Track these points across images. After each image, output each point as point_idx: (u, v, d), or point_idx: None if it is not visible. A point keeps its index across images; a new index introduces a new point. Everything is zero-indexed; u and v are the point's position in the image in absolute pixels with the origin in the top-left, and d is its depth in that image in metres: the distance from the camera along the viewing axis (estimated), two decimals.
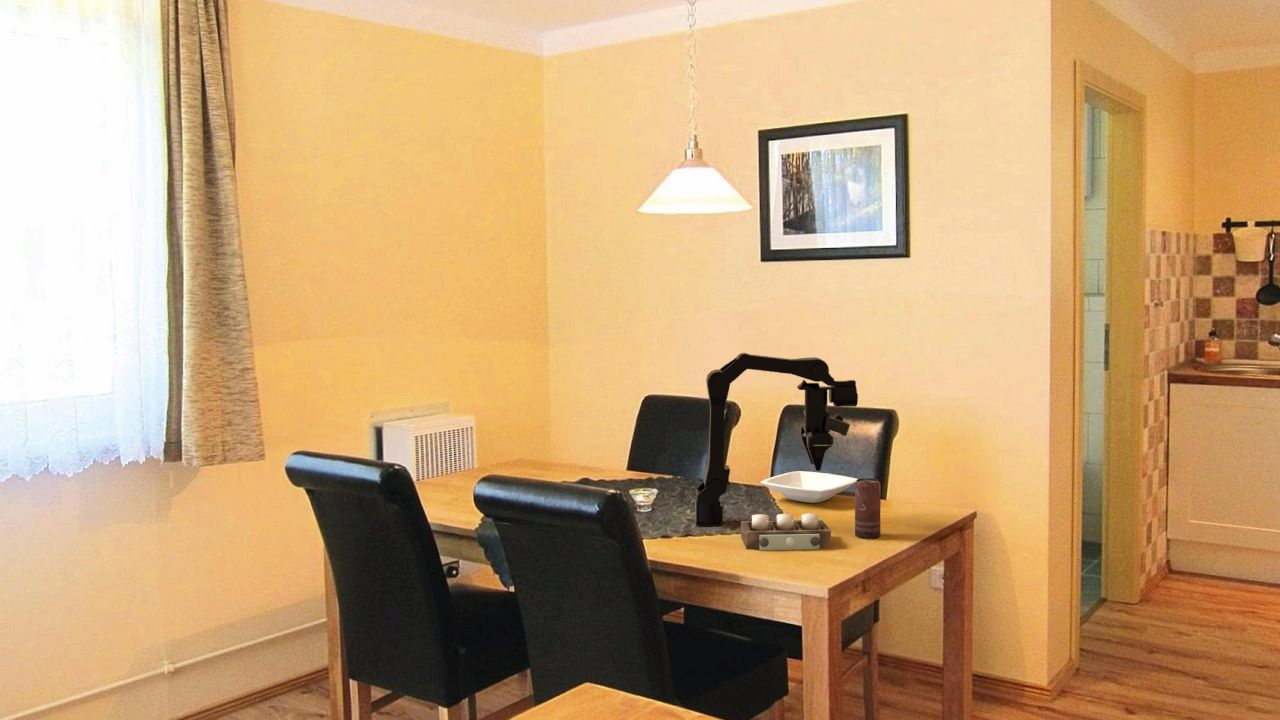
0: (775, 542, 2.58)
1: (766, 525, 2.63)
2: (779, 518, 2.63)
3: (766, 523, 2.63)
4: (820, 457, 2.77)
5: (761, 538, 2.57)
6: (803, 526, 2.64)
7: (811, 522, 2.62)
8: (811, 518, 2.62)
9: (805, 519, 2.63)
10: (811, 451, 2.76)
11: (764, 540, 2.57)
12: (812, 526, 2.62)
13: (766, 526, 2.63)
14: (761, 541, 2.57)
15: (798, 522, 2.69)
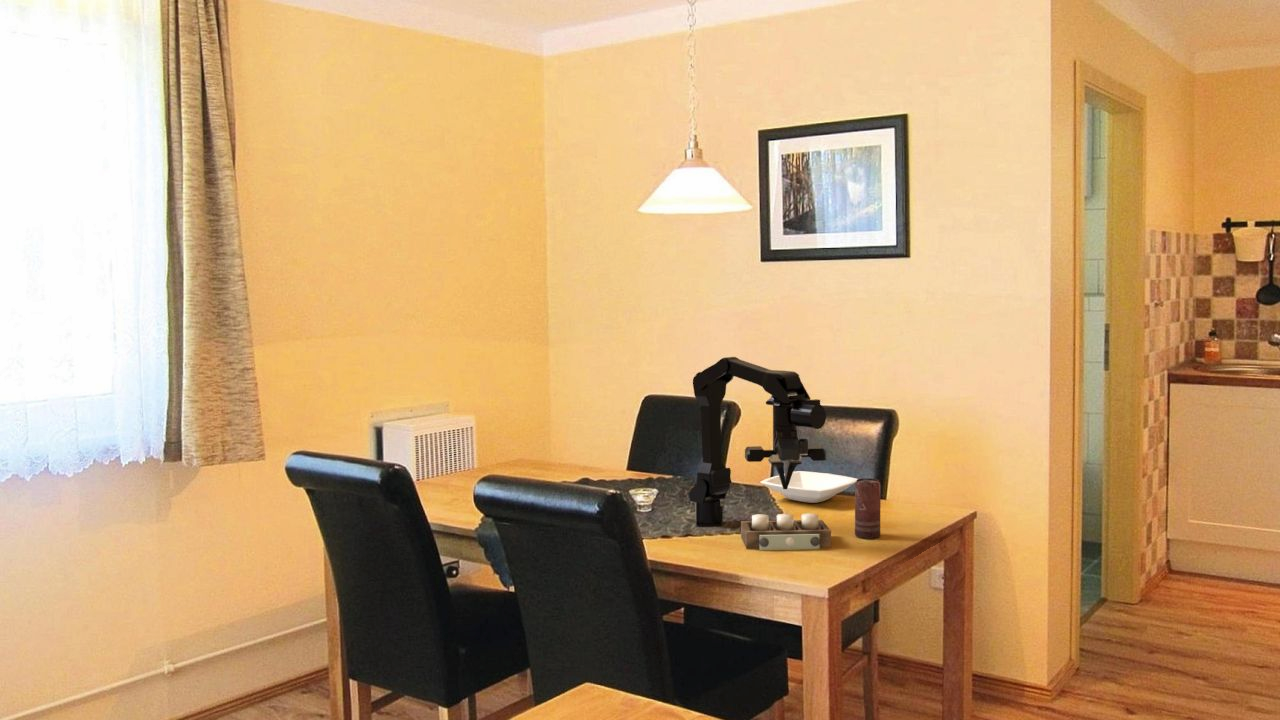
0: (775, 542, 2.58)
1: (766, 525, 2.63)
2: (779, 518, 2.63)
3: (766, 523, 2.63)
4: None
5: (761, 538, 2.57)
6: (803, 526, 2.64)
7: (811, 522, 2.62)
8: (811, 518, 2.62)
9: (805, 519, 2.63)
10: (775, 466, 2.65)
11: (764, 540, 2.57)
12: (812, 526, 2.62)
13: (766, 526, 2.63)
14: (761, 541, 2.57)
15: (798, 522, 2.69)
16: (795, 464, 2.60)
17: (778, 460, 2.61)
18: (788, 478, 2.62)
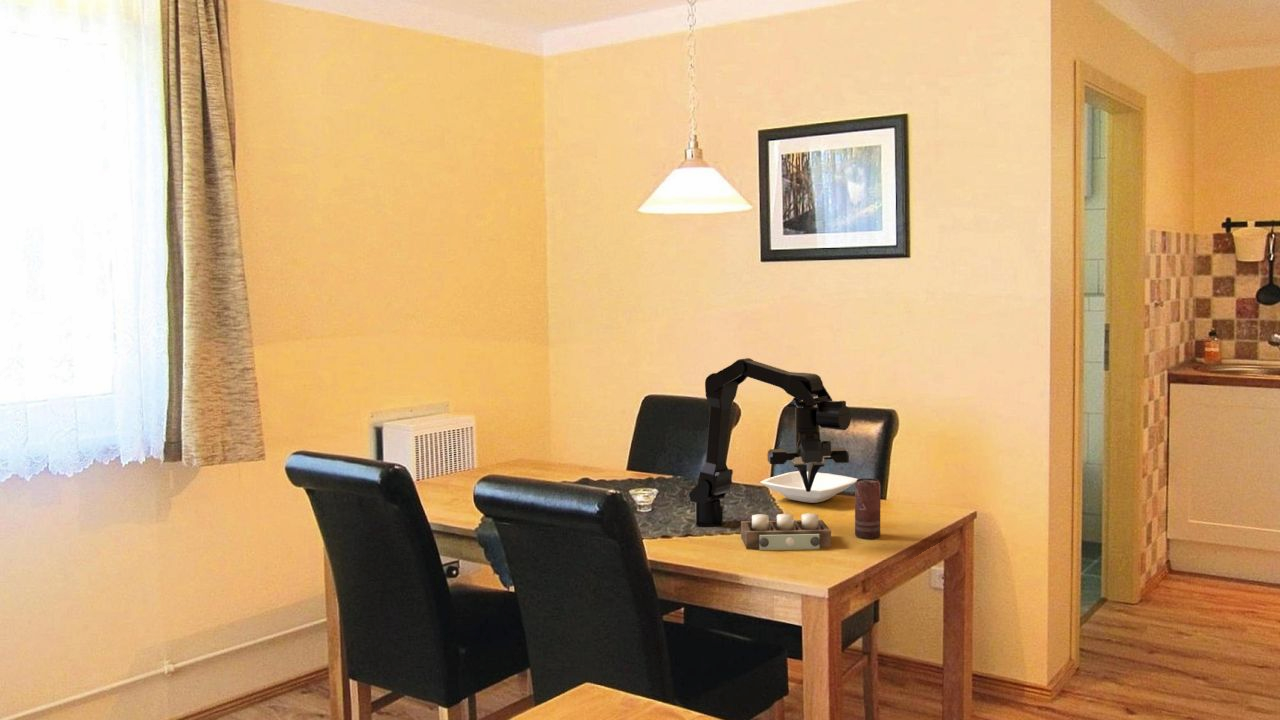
0: (775, 542, 2.58)
1: (766, 525, 2.63)
2: (779, 518, 2.63)
3: (766, 523, 2.63)
4: (802, 477, 2.63)
5: (761, 538, 2.57)
6: (803, 526, 2.64)
7: (811, 522, 2.62)
8: (811, 518, 2.62)
9: (805, 519, 2.63)
10: (798, 468, 2.65)
11: (764, 540, 2.57)
12: (812, 526, 2.62)
13: (766, 526, 2.63)
14: (761, 541, 2.57)
15: (798, 522, 2.69)
16: (818, 466, 2.60)
17: (801, 462, 2.61)
18: (811, 480, 2.62)
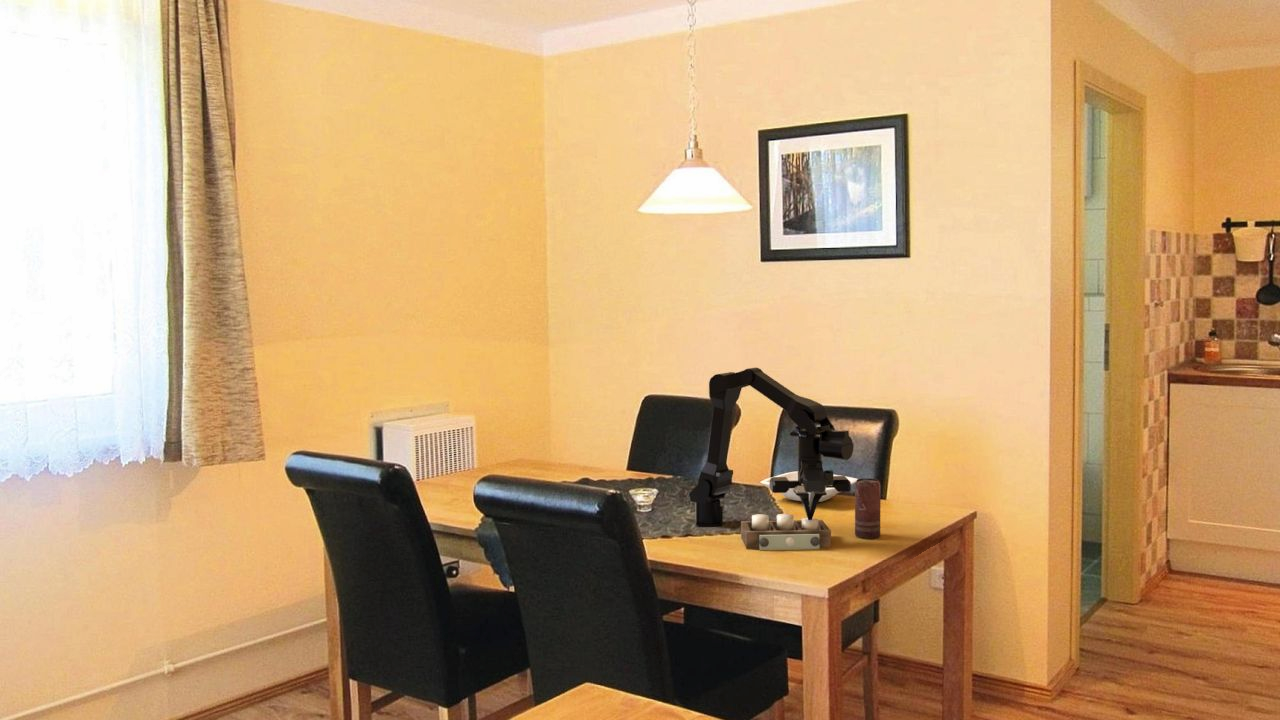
0: (775, 542, 2.58)
1: (766, 525, 2.63)
2: (779, 518, 2.63)
3: (766, 523, 2.63)
4: (804, 505, 2.64)
5: (761, 538, 2.57)
6: None
7: (811, 526, 2.62)
8: (811, 522, 2.62)
9: (805, 523, 2.63)
10: (800, 496, 2.66)
11: (764, 540, 2.57)
12: None
13: (766, 526, 2.63)
14: (761, 541, 2.57)
15: (798, 522, 2.69)
16: (820, 495, 2.61)
17: (803, 491, 2.62)
18: (813, 509, 2.63)
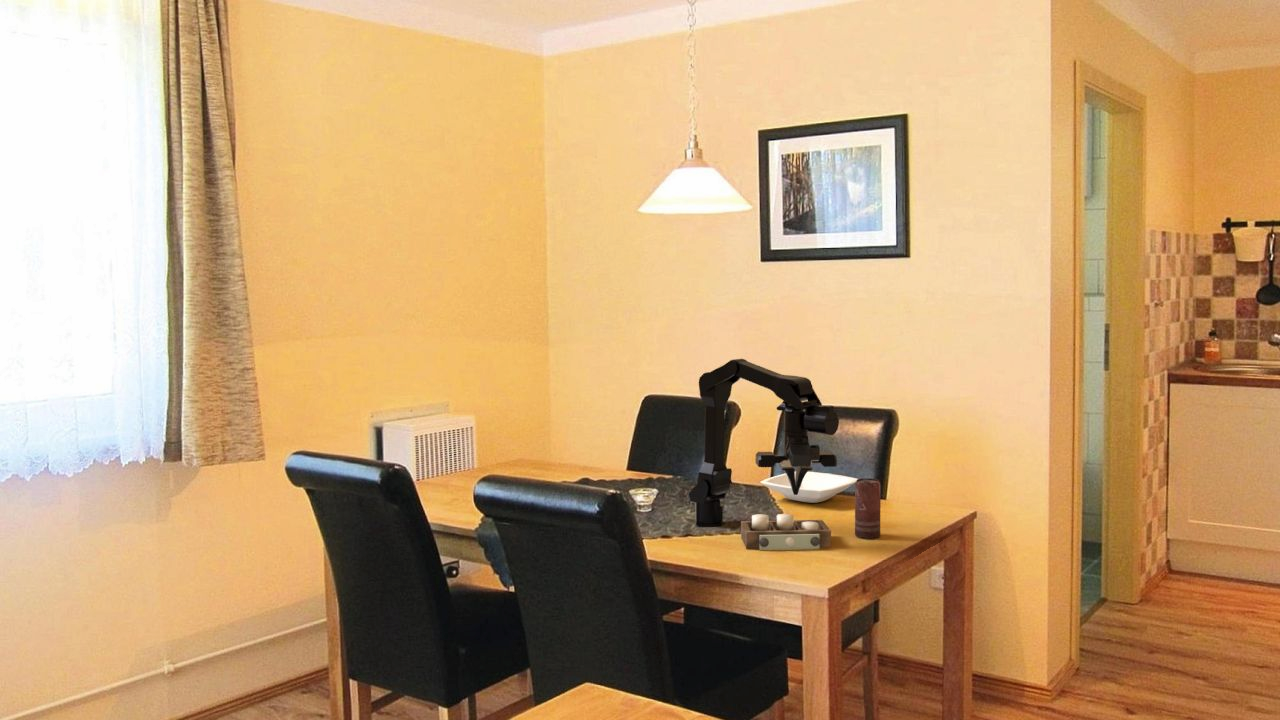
0: (775, 542, 2.58)
1: (766, 525, 2.63)
2: (779, 518, 2.63)
3: (766, 523, 2.63)
4: (790, 480, 2.63)
5: (761, 538, 2.57)
6: None
7: None
8: (811, 526, 2.62)
9: (805, 527, 2.63)
10: (786, 471, 2.65)
11: (764, 540, 2.57)
12: None
13: (766, 526, 2.63)
14: (761, 541, 2.57)
15: (798, 522, 2.69)
16: (806, 470, 2.61)
17: (789, 466, 2.61)
18: (799, 484, 2.63)
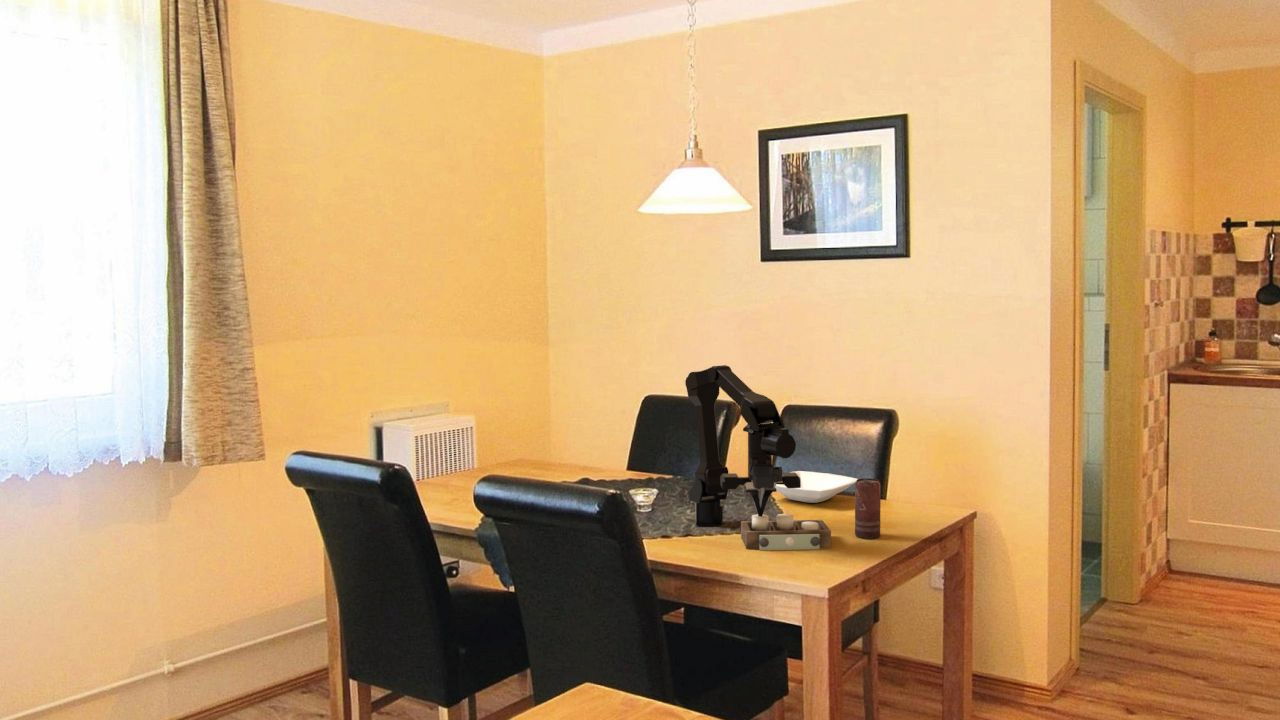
0: (775, 542, 2.58)
1: (766, 525, 2.63)
2: (779, 518, 2.63)
3: (766, 523, 2.63)
4: (754, 502, 2.63)
5: (761, 538, 2.57)
6: None
7: None
8: (811, 526, 2.62)
9: (805, 527, 2.63)
10: (750, 493, 2.65)
11: (764, 540, 2.57)
12: None
13: (766, 526, 2.63)
14: (761, 541, 2.57)
15: (798, 522, 2.69)
16: (770, 491, 2.61)
17: (753, 487, 2.61)
18: (763, 505, 2.63)
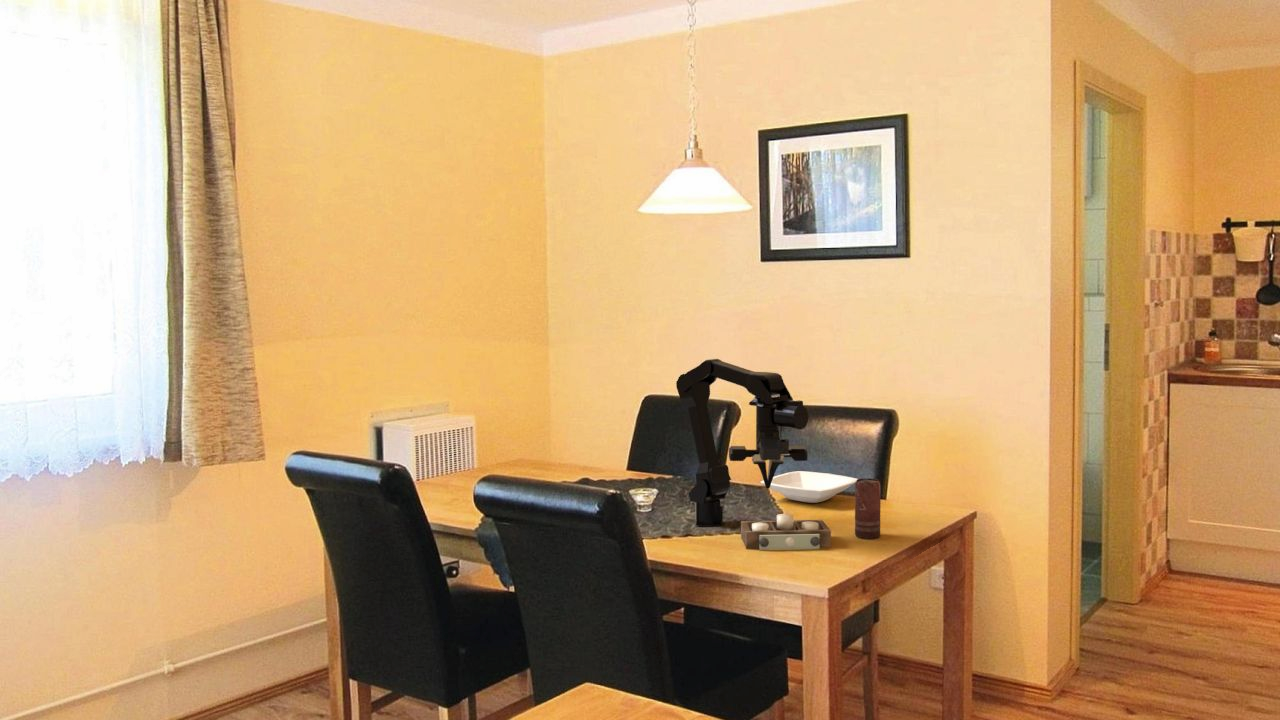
0: (775, 542, 2.58)
1: None
2: (779, 518, 2.63)
3: None
4: (762, 474, 2.68)
5: (761, 538, 2.57)
6: None
7: None
8: (811, 526, 2.62)
9: (805, 527, 2.63)
10: None
11: (764, 540, 2.57)
12: None
13: None
14: (761, 541, 2.57)
15: (798, 522, 2.69)
16: (777, 464, 2.65)
17: (760, 460, 2.66)
18: (770, 477, 2.67)
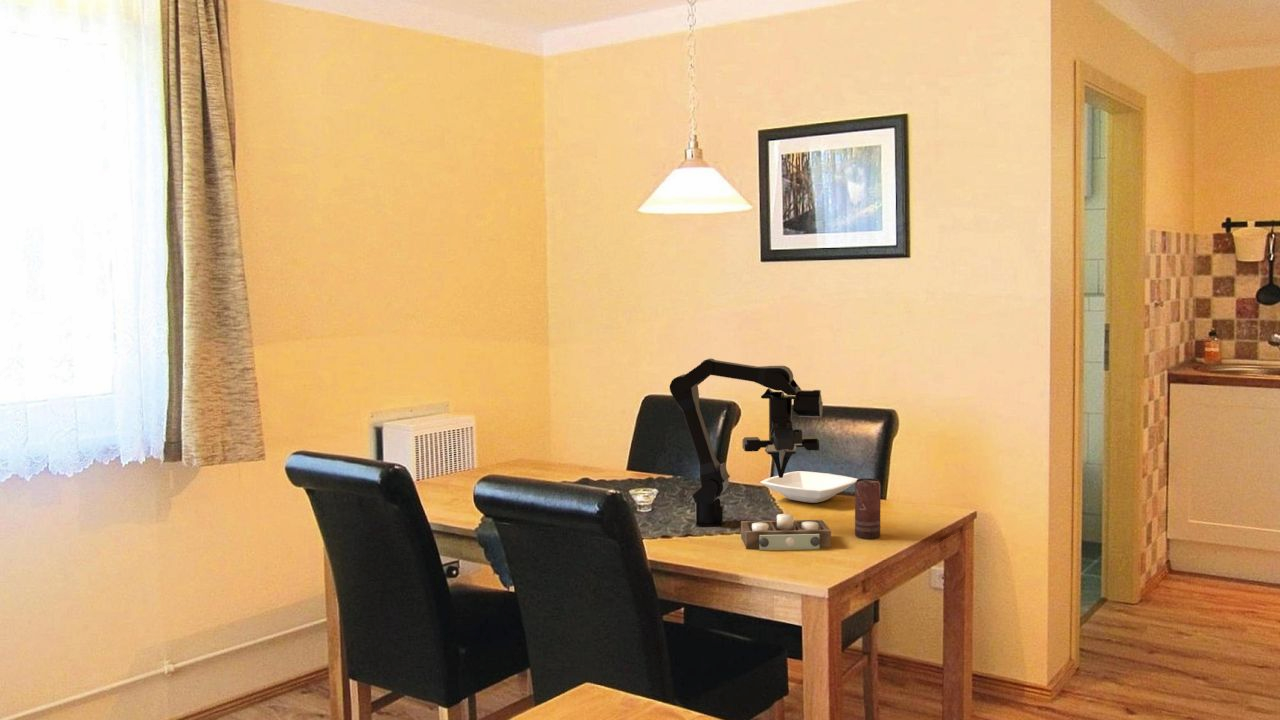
0: (775, 542, 2.58)
1: None
2: (779, 518, 2.63)
3: None
4: (775, 463, 2.77)
5: (761, 538, 2.57)
6: None
7: None
8: (811, 526, 2.62)
9: (805, 527, 2.63)
10: (771, 455, 2.79)
11: (764, 540, 2.57)
12: None
13: None
14: (761, 541, 2.57)
15: (798, 522, 2.69)
16: (790, 454, 2.74)
17: (774, 450, 2.75)
18: (783, 467, 2.76)
